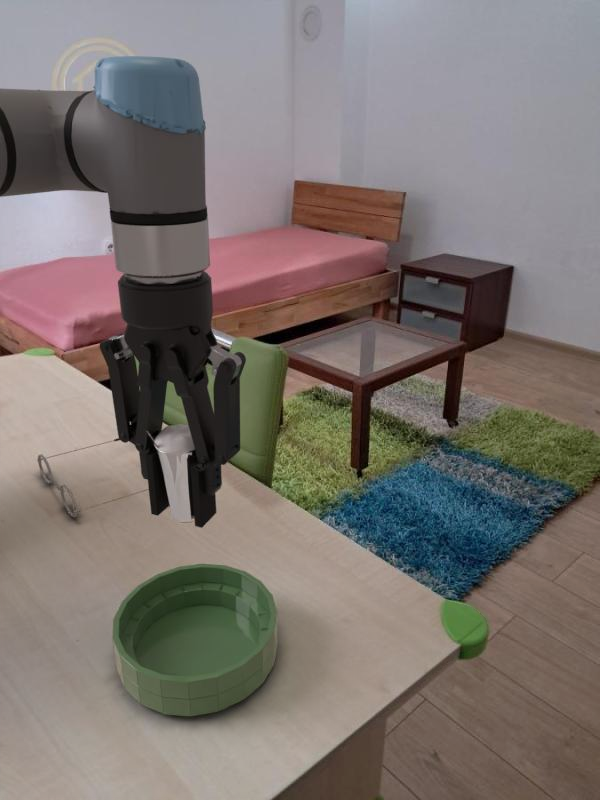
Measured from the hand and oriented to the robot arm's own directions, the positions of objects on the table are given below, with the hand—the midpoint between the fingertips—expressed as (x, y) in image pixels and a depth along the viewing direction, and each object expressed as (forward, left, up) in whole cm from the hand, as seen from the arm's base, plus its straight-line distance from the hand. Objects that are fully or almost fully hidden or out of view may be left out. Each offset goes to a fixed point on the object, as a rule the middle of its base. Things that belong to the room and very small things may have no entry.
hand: (184, 513), depth 61 cm
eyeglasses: (-29, +24, -16) cm, 40 cm away
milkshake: (0, 0, -1) cm, 1 cm away
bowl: (+1, -1, -16) cm, 16 cm away
